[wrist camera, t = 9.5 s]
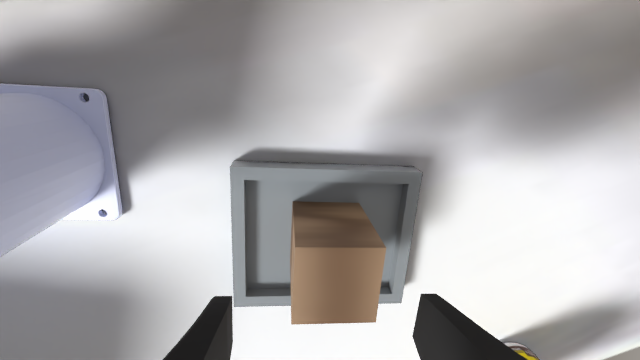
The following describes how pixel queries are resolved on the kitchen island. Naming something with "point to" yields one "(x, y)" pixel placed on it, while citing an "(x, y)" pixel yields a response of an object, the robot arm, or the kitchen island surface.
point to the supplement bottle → (522, 351)
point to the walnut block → (334, 264)
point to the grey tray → (314, 186)
